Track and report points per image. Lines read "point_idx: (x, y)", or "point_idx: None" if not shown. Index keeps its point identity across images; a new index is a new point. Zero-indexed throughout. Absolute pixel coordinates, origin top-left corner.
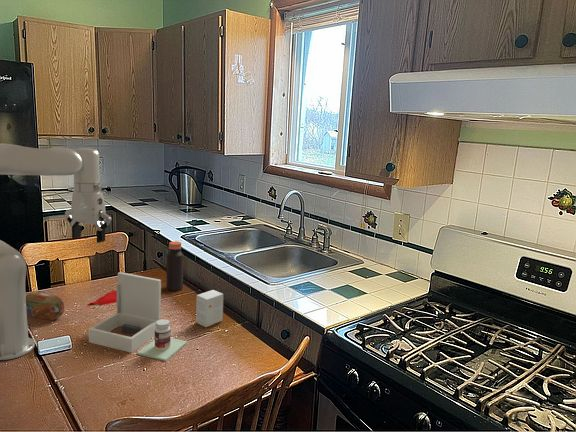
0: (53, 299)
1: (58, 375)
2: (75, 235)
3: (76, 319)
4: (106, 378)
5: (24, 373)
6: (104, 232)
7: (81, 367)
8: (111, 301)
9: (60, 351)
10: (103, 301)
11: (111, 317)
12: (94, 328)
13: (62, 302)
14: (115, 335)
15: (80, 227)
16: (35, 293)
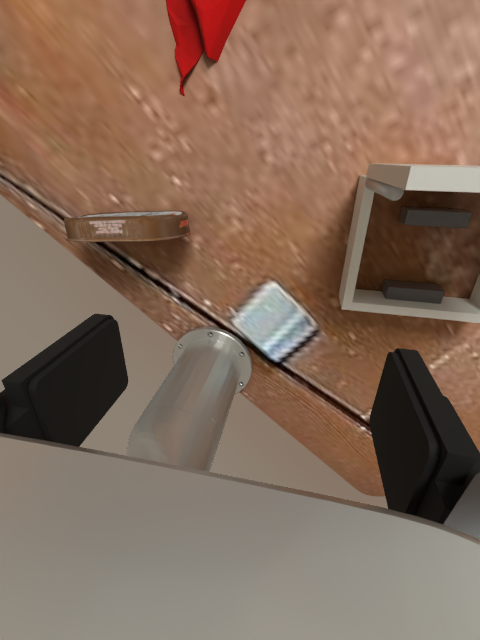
0: (151, 236)
1: (358, 406)
2: (114, 387)
3: (224, 199)
4: (457, 398)
5: (297, 411)
6: (476, 466)
7: None
8: (232, 10)
9: (304, 343)
10: (213, 40)
11: (365, 225)
12: (356, 302)
13: (173, 219)
14: (435, 318)
15: (52, 372)
16: (80, 230)
